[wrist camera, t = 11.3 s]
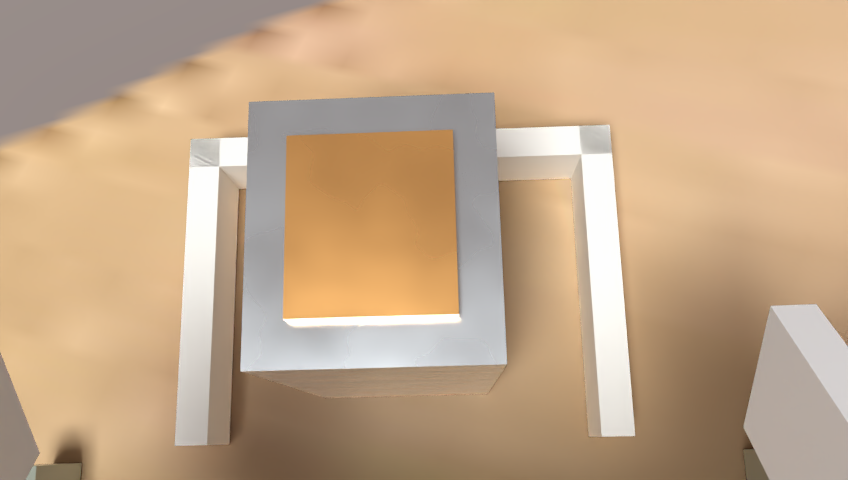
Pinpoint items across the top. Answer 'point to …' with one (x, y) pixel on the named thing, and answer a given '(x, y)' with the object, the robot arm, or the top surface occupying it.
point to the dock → (517, 160)
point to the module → (374, 246)
